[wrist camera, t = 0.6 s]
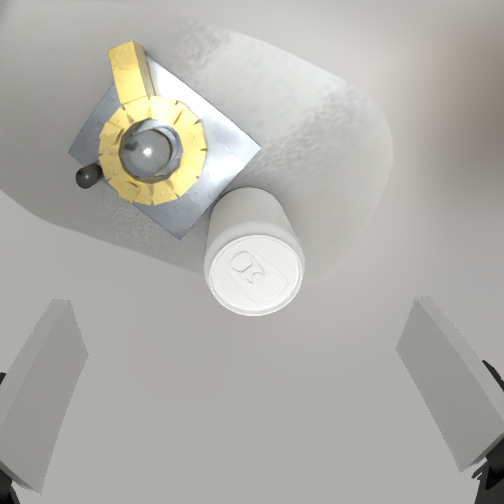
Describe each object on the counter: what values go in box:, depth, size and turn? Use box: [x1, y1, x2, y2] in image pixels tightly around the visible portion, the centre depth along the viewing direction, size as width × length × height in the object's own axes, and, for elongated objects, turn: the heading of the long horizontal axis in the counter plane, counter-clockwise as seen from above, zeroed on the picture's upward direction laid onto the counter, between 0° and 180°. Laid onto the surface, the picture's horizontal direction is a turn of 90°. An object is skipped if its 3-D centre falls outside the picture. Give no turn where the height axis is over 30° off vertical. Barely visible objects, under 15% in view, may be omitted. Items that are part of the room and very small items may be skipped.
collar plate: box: [68, 55, 261, 240], centre depth 27 cm, size 16×13×6 cm
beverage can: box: [203, 187, 305, 316], centre depth 29 cm, size 8×8×12 cm
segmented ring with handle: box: [98, 40, 209, 205], centre depth 26 cm, size 16×10×4 cm, turn 13°
